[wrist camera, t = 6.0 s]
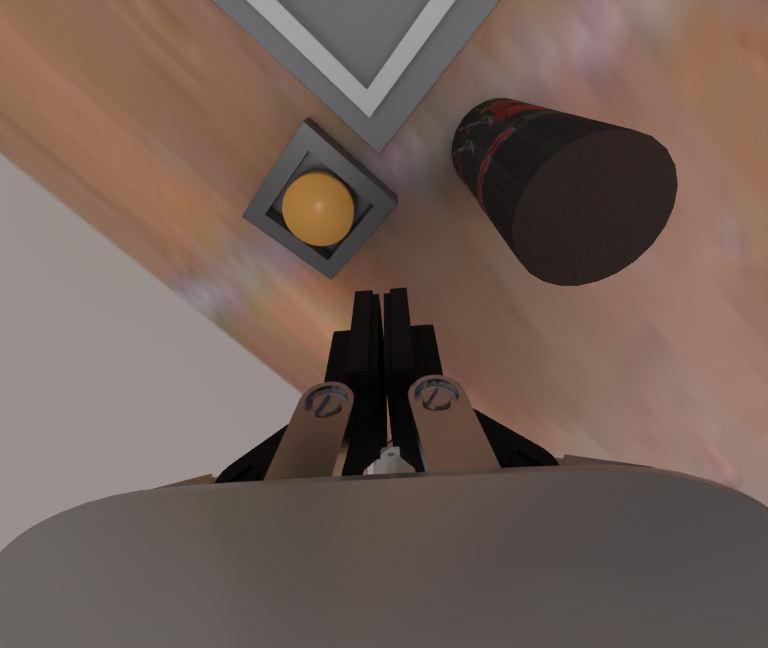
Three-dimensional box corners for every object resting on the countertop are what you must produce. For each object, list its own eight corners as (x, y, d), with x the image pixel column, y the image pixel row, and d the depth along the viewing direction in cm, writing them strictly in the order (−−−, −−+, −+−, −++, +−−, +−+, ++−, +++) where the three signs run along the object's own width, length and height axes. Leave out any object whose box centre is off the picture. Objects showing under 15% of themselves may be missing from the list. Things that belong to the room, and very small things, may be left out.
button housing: (396, 195, 28) (397, 204, 26) (334, 267, 32) (331, 279, 30) (308, 117, 25) (303, 121, 23) (250, 206, 29) (241, 216, 27)
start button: (368, 200, 28) (367, 208, 26) (329, 248, 30) (326, 258, 28) (312, 153, 26) (308, 159, 24) (275, 207, 28) (268, 216, 26)
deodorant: (437, 170, 27) (482, 256, 15) (479, 81, 24) (580, 96, 12) (505, 201, 28) (599, 304, 16) (554, 121, 25) (715, 171, 13)
